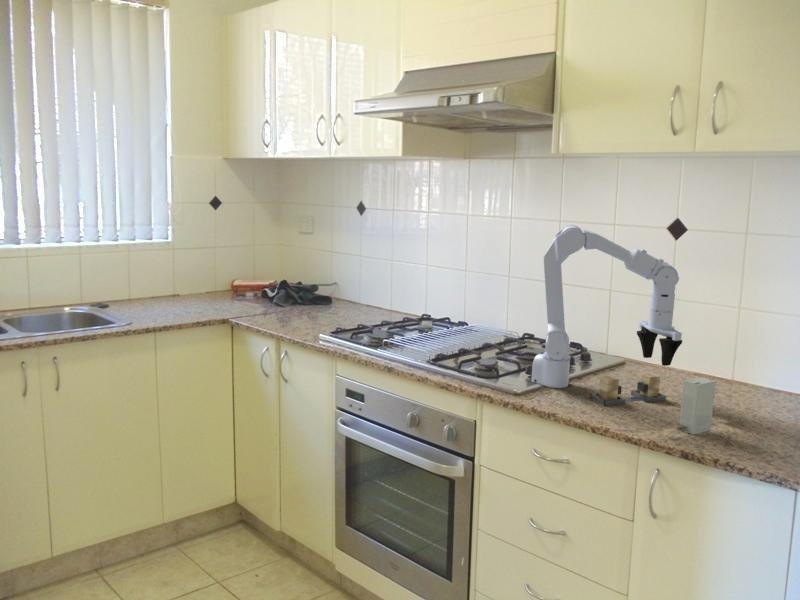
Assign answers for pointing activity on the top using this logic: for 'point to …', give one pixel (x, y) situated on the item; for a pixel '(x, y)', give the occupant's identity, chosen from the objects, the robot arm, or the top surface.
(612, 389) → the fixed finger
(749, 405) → the top surface
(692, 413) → the skincare box
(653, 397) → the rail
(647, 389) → the beige wooden block
